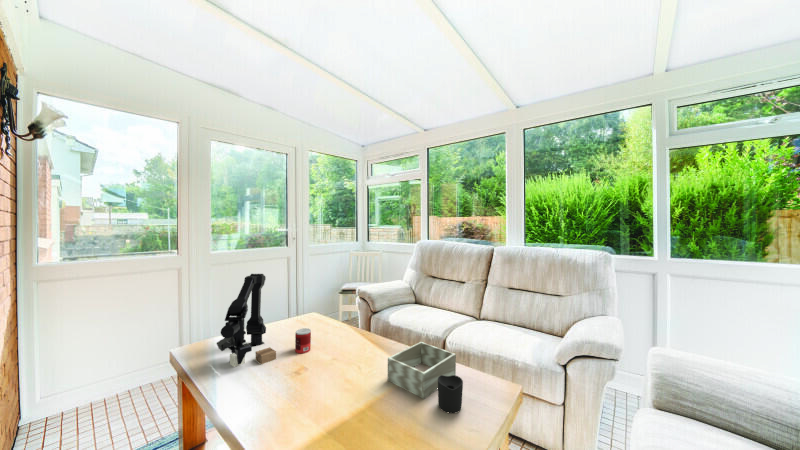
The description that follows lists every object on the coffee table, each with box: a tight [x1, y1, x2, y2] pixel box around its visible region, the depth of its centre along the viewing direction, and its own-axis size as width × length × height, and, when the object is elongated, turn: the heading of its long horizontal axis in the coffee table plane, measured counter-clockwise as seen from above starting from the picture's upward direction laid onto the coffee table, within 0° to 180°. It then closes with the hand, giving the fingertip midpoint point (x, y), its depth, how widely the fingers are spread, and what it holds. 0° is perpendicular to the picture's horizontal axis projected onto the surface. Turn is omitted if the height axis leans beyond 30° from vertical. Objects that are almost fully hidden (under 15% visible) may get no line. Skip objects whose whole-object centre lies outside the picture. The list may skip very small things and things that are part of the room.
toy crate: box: [387, 341, 457, 400], centre depth 131 cm, size 20×24×10 cm
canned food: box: [294, 327, 312, 355], centre depth 156 cm, size 8×8×11 cm
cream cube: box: [229, 352, 246, 368], centre depth 141 cm, size 5×5×5 cm
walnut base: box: [255, 347, 277, 365], centre depth 146 cm, size 7×7×4 cm
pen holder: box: [437, 374, 464, 414], centre depth 111 cm, size 9×9×10 cm
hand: (237, 362), depth 141 cm, fingers closed on cream cube, 5 cm apart
